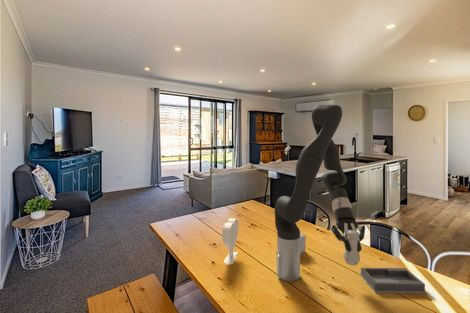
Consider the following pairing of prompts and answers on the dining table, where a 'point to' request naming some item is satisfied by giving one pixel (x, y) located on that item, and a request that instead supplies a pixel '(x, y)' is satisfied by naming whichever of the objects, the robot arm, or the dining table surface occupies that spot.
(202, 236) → the dining table surface
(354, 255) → the salt shaker
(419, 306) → the dining table surface
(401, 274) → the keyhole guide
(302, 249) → the medicine box
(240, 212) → the dining table surface
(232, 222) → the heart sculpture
